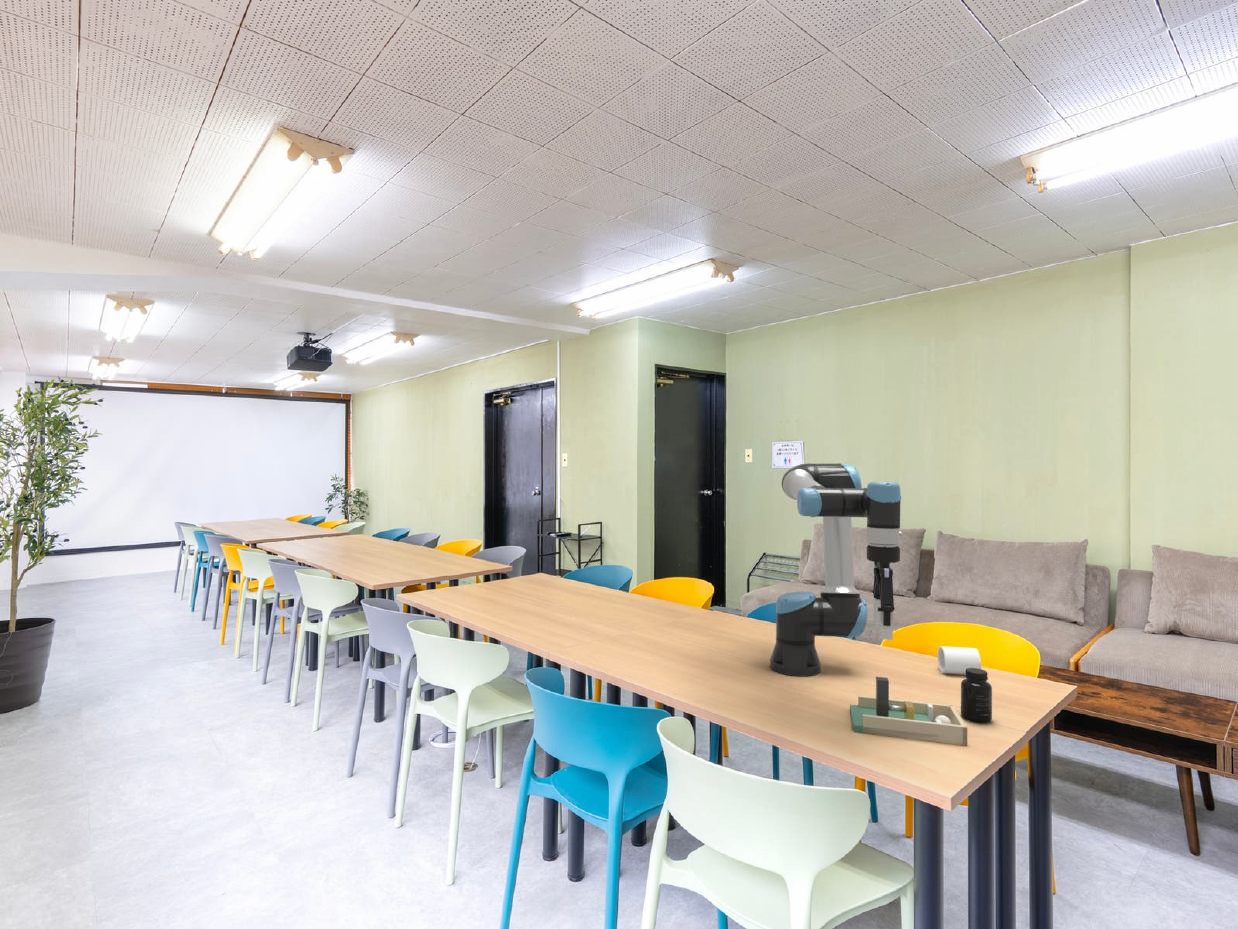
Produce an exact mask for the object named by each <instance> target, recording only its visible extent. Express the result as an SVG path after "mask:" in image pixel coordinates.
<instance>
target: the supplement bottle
mask: <svg viewBox="0 0 1238 929" xmlns="http://www.w3.org/2000/svg"><path fill="white" fill-rule="evenodd" d="M964 677H965V678H963V679H962V680H961V682H960V717H961V718H962V719H964V720H965V721H969V722H972V723H976V724H988V723H991V721H992V719H993V686H992V685H991V683H990V682H988V680H989V677H988V671H986V670H985V669H982V668H981V669H978V668H967V669H966V672H965V675H964Z"/></svg>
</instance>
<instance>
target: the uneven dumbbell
mask: <svg viewBox="0 0 1238 929" xmlns="http://www.w3.org/2000/svg"><path fill="white" fill-rule="evenodd" d="M889 684H890V680H889V677H884V676H875V697H876V715H877V716H882V717H889V710H892V711H901V712H904V717H905V719H909V720H914V706H913V704H912V702H909V701H910V700H906V701H904V706H894V705H889V699H890V696H889V694H890V690H889V689H890V685H889Z"/></svg>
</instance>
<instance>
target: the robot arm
mask: <svg viewBox="0 0 1238 929" xmlns="http://www.w3.org/2000/svg"><path fill="white" fill-rule="evenodd" d="M861 479H862V478H861V476H860V473H859V471H858V469H857V468H856V466H855V465H853V464H849V463H848V464H847V463H840V462H839V463H809V462H808V463H802V464H798V465H795V466H793V467H791V468H790V469H788V470H787V471H786V472H785V473H784V474H783V475H782V479H781V488H782V491H783V492H784V494H785V495H786V496H787V497H788V498H790V499H792V500H796V506H797V511H798V514H799V515H800V516H801V517H810V518H817V517H818V518H820V517H822V523H823V524H822V525H823V526H822V530H823V558H824V562H823V563H824V585H825V586H824V587H823V589H822V590H820V597H816V595H815V593H814V592H810V591H793V592H792V591H791V592H786V593H783V594H781V595H779V596H778V597H777V599H776V605H775V606H776V607H775V617H776V618H775V619H776V620H775V622H776V623H775V632H776V633H775V644H774V648H773V650H772V654H771V657H770V659H769V664H770V665H769V667H770V669H772V670H773V671H775V672H777V673H780V674H783V675H788V676H795V677H808V676H816V675H819V674H820V673H821V667H822V666H821V660H820V658H819V654H818V651H817V649H816V648H817V647H816V645H815V644H816V643H815V638H816V637H835V638H836V637H837V638H838V637H842V638H846V639H847V638H854V637H855V638H857V637H860V636H862V634H863V633H864V632H865V629H866V627H867V621H868V606H867V605H868V604H867V601H866V600H865V599H864V598H861V593H860V592H859V590H858V589H856V587H855V576H854V574H855V572H854V570H855V569H854V550H853V530H852V529H853V524H852V523H853V522H852V518H866V543H867V546H866V560H868V561H870V562H873V564H874V567H873V588H872V589H873V590H872V594H873V626H879V639H880V640H886V641H887V640H888V641H889V640H891V641H893V639H894V637H893V635H894V611H895V603H894V602H895V600H894V582H893V580H894V579H893V576H894V569H893V568H890V566H891V565H890V564H891V563H893V564H896V563H899V562H900V561H901V548H900V546H898V545H900V543H901V537H902V536H903V535H904V534H903V532H902V531H901V499H902V494H901V485H900V484H899V482H896V481H895V482H893V481H870V482H868V483H867V487H862V486H863V485H862V480H861Z"/></svg>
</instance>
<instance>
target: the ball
mask: <svg viewBox="0 0 1238 929" xmlns="http://www.w3.org/2000/svg"><path fill="white" fill-rule="evenodd" d="M936 719H937V720H941V722H942V723H945V724H951V721H950V719H949V718H948V717H946V716H943V715H940V716H937V717H936Z"/></svg>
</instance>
